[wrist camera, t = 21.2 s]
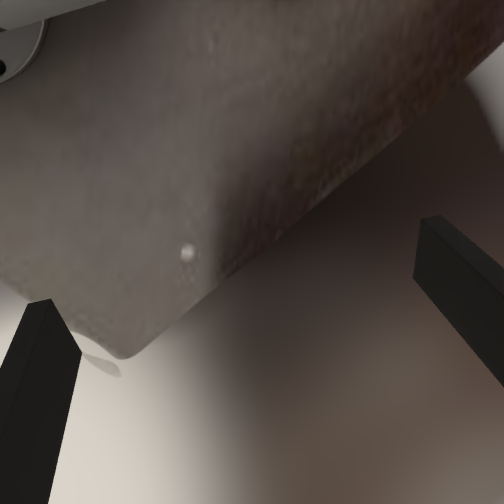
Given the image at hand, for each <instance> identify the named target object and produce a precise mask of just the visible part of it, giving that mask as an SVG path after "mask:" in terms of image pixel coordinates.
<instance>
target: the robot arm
mask: <svg viewBox="0 0 504 504" xmlns="http://www.w3.org/2000/svg"><path fill="white" fill-rule="evenodd" d="M103 1H106V0H0V83H3V82H5V81H8V80H10V79H12V78H13V77H15V76H17V75H18V74H20V73H21V72H23V71H24V70H25V69H26V68H27V67H28V66H29V65H30V64H31V63H32V61H33V60H34V59H35V57H36V56H37V54H38V53H39V51H40V49H41V47H42V45H43V42H44V40H45V37H46V33H47V29H48V22H49V18H51V17H54V16H57V15H61V14H64V13H67V12H70V11H73V10H77V9H80V8H83V7H86V6H90V5H93V4H96V3H99V2H103ZM413 279H414V280H415V281H416V282H417V284H418V285H419V286H420V287H421V288H422V290H423V291H424V292H425V293H426V294H427V296H428V297H429V298H430V299H431V300H432V301H433V303H434V304H435V305H436V306H437V308H438V309H439V310H440V311H441V312H442V313H443V315H444V316H445V317H446V318H447V319H448V321H449V322H450V323H451V325H452V326H453V327H454V328H455V329H456V331H457V332H458V333H459V334H460V335H461V336H462V337H463V339H464V340H465V341H466V342H467V344H468V345H469V346H470V347H471V349H472V350H473V351H474V352H475V353H476V355H477V356H478V357H479V358H480V359H481V360H482V361H483V363H484V364H485V365H486V367H487V368H489V370H490V371H491V373H492V374H493V375H494V376H495V377H496V379H497V380H498V381H499V382H500V383H501V385H502V386H503V387H504V268H503V267H502V266H501V265H499V264H498V263H497V262H496V261H495V260H493V259H492V258H491V257H490V256H489V255H487V254H486V253H485V252H484V251H483V250H482V249H480V248H479V247H478V246H477V245H476V244H475V243H473V242H472V241H471V240H470V239H468V237H466V236H465V235H464V234H463V233H462V232H460V231H459V230H458V229H457V228H456V227H455V226H453V225H452V224H451V223H450V222H449V221H448V220H446V219H445V218H444V217H443V216H442V215H437V216H433V217H429V218H424V219H421V220H420V228H419V236H418V243H417V251H416V259H415V266H414V274H413ZM81 356H82V352H81V350H80V348H79V347H78V345H77V343H76V341H75V340H74V338H73V336H72V335H71V333H70V331H69V329H68V327H67V326H66V324H65V322H64V320H63V319H62V317H61V315H60V314H59V312H58V310H57V308H56V307H55V305H54V303H53V301H52V300H51V299H47V300H43V301H38V302H33V303H29V304H28V305H27V307H26V309H25V312H24V314H23V316H22V319H21V321H20V323H19V326H18V328H17V330H16V333H15V335H14V337H13V340H12V342H11V344H10V347H9V349H8V351H7V354H6V356H5V358H4V361H3V363H2V365H1V368H0V504H48V501H49V497H50V493H51V488H52V484H53V479H54V475H55V470H56V465H57V462H58V457H59V452H60V448H61V444H62V440H63V435H64V431H65V426H66V422H67V417H68V413H69V409H70V404H71V400H72V395H73V391H74V386H75V382H76V378H77V373H78V369H79V364H80V360H81Z"/></svg>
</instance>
